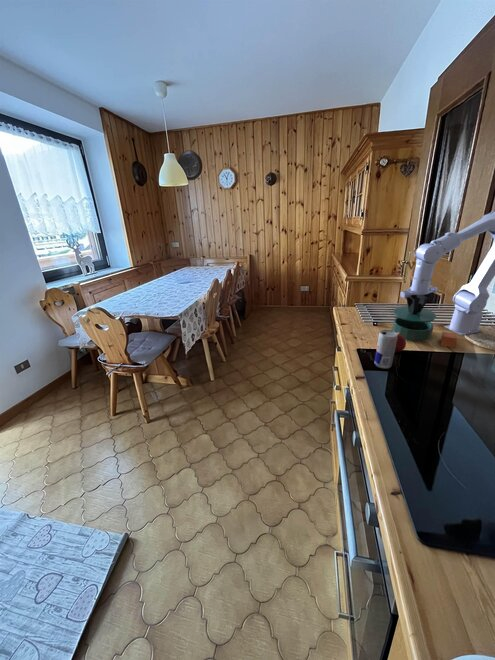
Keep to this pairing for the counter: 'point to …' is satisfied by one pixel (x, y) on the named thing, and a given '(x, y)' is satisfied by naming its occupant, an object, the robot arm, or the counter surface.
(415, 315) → the tin lid
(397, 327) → the tin
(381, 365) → the energy drink
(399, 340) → the onion
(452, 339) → the block
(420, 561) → the counter surface
